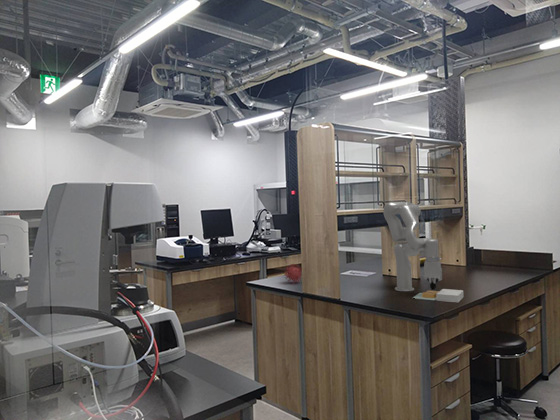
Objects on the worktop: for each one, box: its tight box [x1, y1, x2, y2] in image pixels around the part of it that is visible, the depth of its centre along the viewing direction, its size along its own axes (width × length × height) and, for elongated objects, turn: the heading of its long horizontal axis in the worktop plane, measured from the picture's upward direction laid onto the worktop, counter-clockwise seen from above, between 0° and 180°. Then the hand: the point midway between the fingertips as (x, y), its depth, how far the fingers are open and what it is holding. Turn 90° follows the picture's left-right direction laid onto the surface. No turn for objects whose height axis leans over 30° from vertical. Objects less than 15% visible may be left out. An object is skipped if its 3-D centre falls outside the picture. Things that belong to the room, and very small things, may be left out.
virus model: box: [284, 263, 302, 283], centre depth 316 cm, size 15×15×15 cm
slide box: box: [421, 290, 440, 299], centre depth 254 cm, size 10×7×2 cm
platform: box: [435, 288, 465, 303], centre depth 247 cm, size 16×12×4 cm
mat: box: [412, 292, 437, 301], centre depth 255 cm, size 16×13×1 cm
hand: (433, 289), depth 252 cm, fingers closed
